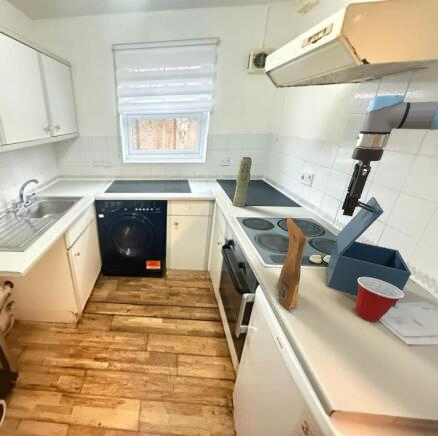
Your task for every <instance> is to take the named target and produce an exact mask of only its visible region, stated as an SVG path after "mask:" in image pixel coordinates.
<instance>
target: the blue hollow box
mask: <svg viewBox="0 0 438 436" xmlns="http://www.w3.org/2000/svg"><path fill="white" fill-rule="evenodd" d="M326 267H327V287H328V288H331V289H334V290H338V291H341V292H344V293H347V294H350V295H354V296H357V295H358V281H357V279H358V278H359V277H370V278H375V279H379V280H382V281H384V282H387V283H389V284H391V285H393V286H395V287H397V288H398V289H400V290H401V291H402V292H403V291H404V288H405V287H406V285H407V283H408V281H409V279H410V277H411V275H412V272H411V270H410V269H409V266H408V265H407V263H406V262H405V259H404V258H403V257H402V254H401V252H400V251H399V249H394V248H390V247H385V246H380V245H375V244H370V243H365V242H360V241H357V240H356V241H355V242H354V243H353V244H352V245H351V246H350V247H349V248H348V249H347V250H346V251H345V252H344V253H343V254H342V255H339V254H338V245H337V238H336V240H335V242H334V245H333V248H332V251H331V254H330V257H329V260H328V263H327V266H326ZM396 304H397V302H396V303H395V304H394V305H393V306H392V308H394V307H395V306H396Z"/></svg>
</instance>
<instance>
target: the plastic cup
mask: <svg viewBox="0 0 438 436" xmlns="http://www.w3.org/2000/svg"><path fill="white" fill-rule="evenodd" d="M357 281H358V295H356V305H355V313H356V315H357V316H358V317H359V318H361V319H362V320H365V321H367V322H372V323H378V322H379V321H380V320H381V319H382V318H383V317H384V316H385V315H386V314H387V313H388V311H390V310H391V308H393V305H394V304H395V303H396V304H397V302H398V301H399V300H401V299H403V298H404V297H405V295H406V294H405V293H404V292H403V290H402V291H401V290H400V289H398V288H397V287H395V286H393V285H391V284H389V283H387V282H384V281H382V280H379V279H375V278H370V277H359V278H358V279H357ZM396 304H395V305H396Z"/></svg>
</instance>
